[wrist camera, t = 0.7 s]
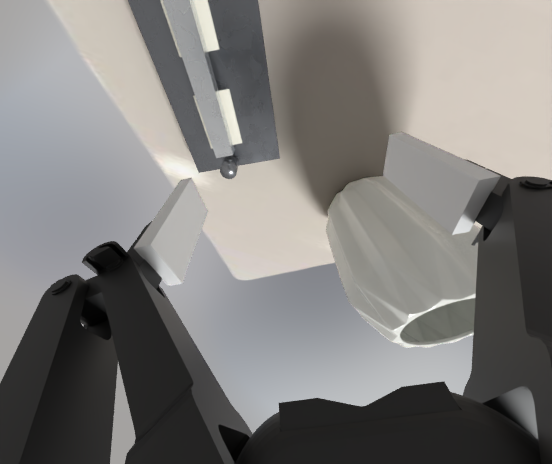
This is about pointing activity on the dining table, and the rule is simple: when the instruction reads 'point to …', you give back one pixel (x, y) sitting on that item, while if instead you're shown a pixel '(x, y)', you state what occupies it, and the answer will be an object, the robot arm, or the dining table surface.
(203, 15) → the label
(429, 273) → the vase
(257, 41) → the plate
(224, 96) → the label
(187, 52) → the gray rectangular bar
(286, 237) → the dining table surface
